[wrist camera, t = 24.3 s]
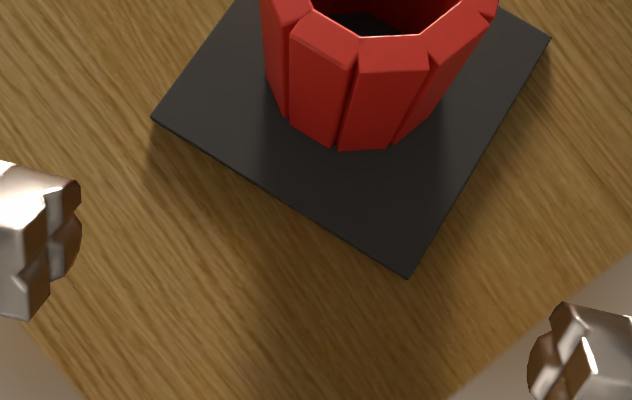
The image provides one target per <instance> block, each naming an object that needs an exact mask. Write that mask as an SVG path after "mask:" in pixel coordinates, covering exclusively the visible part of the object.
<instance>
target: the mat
mask: <svg viewBox="0 0 632 400" xmlns="http://www.w3.org/2000/svg"><path fill="white" fill-rule="evenodd" d="M328 18H330V19H331V20H333V21H335V22H337V23H338V24H340V25H342V26H343V27H345V28H347V29H348V30H350V31H352V32H353V33H355V34H357V35H359V36H360V37H373V36H394V35H402V34H401V32H400V31H399V30H397V29H395V28H394V27H392V26H390V25H389V24H387V23H385V22H383V21H382V20H380V19H378V18H377V17H375V16H373V15H371V14H370V13H352V14H331V15H329V16H328ZM551 38H552V37H551V36H549V35H548V34H546V33H544V32H543V31H541V30H539V29H538V28H536V27H534V26H532V25H531V24H529V23H527V22H526V21H524V20H522V19H520V18H519V17H517V16H515V15H514V14H512V13H510V12H508V11H507V10H505V9H503V8H502V7H500V6H498V8H497V13H496V16H495V18H494V19H493V21H492V22H491V24H490V27H489V28H488V30H487V31H486V33H485V34H484V36H483V37H482V39H481V40H480V42H479V43H478V45H477V46H476V48H475V49H474V50H473V52H472V53H471V55H470V56H469V58H468V59H467V61H466V62H465V64H464V65H463V67H462V68H461V70H460V71H459V73H458V74H457V76H456V77H455V79H454V80H453V81H452V83H451V84H450V86H449V87H448V89H447V90H446V92H445V93H444V95H443V96H442V98H441V99H440V101H439V102H438V104H437V105H436V107H435V108H434V110H433V111H432V113H431V114H430V115H429V117H428V118H427V119H426V120H424V121H423V122H422V123H421V124H419V125H418V126H417V127H416V128H415V129H413V130H412V131H411V132H410V133H409V134H407V135H406V136H405V137H404V138H402V139H401V140H400V141H399V142H398V143H396V144H395V145H394V146H393V145H392V144H391V143H390V142H389V144H388V146H387V148H386V149H374V150H357V151H340V152H338V151H337V142H336V141H335V143H334V145H333V146H332V147H331V148H327V147H325V146H324V145H322V144H320V143H319V142H317V141H315V140H314V139H312V138H311V137H309V136H307V135H306V134H304V133H302V132H301V131H299V130H297V129H296V128H294V127H292V126H291V125H290V124H289V117H286V118H284V117H283V116H282V114H281V111H280V109H279V107H278V104H277V102H276V99H275V97H274V94H273V92H272V90H271V87H270V85H269V82H268V80H267V78H266V67H265V57H264V47H263V36H262V26H261V15H260V5H259V0H235V1H234V2H233V3H232V5H231V6H230V7H229V9H228V10H227V11H226V13H225V14H224V15H223V17H222V18H221V20H220V21H219V22H218V24H217V25H216V26H215V28H214V29H213V30H212V32H211V33H210V35H209V36H208V37H207V39H206V40H205V41H204V43H203V44H202V45H201V47H200V48H199V50H198V51H197V52H196V54H195V55H194V56H193V58H192V59H191V60H190V62H189V63H188V64H187V66H186V67H185V69H184V70H183V71H182V73H181V74H180V75H179V77H178V78H177V79H176V81H175V82H174V84H173V85H172V86H171V88H170V89H169V90H168V92H167V93H166V94H165V96H164V97H163V99H162V100H161V101H160V103H159V104H158V105H157V107H156V108H155V109H154V111H153V112H152V113H151V115H150V118H151V119H152V120H153V121H154V122H156V123H158V124H159V125H161V126H162V127H164V128H166V129H167V130H169V131H170V132H172V133H173V134H175V135H177V136H178V137H180V138H181V139H183V140H185V141H186V142H188V143H189V144H191V145H193V146H194V147H196V148H197V149H199V150H200V151H202V152H204V153H205V154H207V155H208V156H210V157H212V158H213V159H215V160H216V161H218V162H219V163H221V164H223V165H224V166H226V167H227V168H229V169H231V170H232V171H234V172H235V173H237V174H239V175H240V176H242V177H243V178H245V179H246V180H248V181H250V182H251V183H253V184H254V185H256V186H258V187H259V188H261V189H262V190H264V191H266V192H267V193H269V194H270V195H272V196H273V197H275V198H277V199H278V200H280V201H281V202H283V203H285V204H286V205H288V206H289V207H291V208H292V209H294V210H296V211H297V212H299V213H300V214H302V215H304V216H305V217H307V218H308V219H310V220H312V221H313V222H315V223H316V224H318V225H319V226H321V227H323V228H324V229H326V230H327V231H329V232H331V233H332V234H334V235H335V236H337V237H339V238H340V239H342V240H343V241H345V242H346V243H348V244H350V245H351V246H353V247H354V248H356V249H358V250H359V251H361V252H362V253H364V254H366V255H367V256H369V257H370V258H372V259H373V260H375V261H377V262H378V263H380V264H381V265H383V266H385V267H386V268H388V269H389V270H391V271H392V272H394V273H396V274H397V275H399V276H400V277H402V278H404V279H405V280H408V279H409V278H410V277H411V275H412V273H413V271H414V270H415V268H416V266H417V265H418V263H419V261H420V260H421V258H422V256H423V255H424V253H425V251H426V249H427V248H428V246H429V244H430V243H431V241H432V239H433V238H434V236H435V234H436V233H437V231H438V229H439V228H440V226H441V224H442V222H443V221H444V219H445V217H446V216H447V214H448V212H449V211H450V209H451V207H452V206H453V204H454V202H455V201H456V199H457V197H458V195H459V194H460V192H461V190H462V189H463V187H464V185H465V184H466V182H467V180H468V179H469V177H470V175H471V173H472V172H473V170H474V168H475V167H476V165H477V163H478V162H479V160H480V158H481V157H482V155H483V153H484V152H485V150H486V148H487V146H488V145H489V143H490V141H491V140H492V138H493V136H494V135H495V133H496V131H497V130H498V128H499V126H500V125H501V123H502V121H503V119H504V118H505V116H506V114H507V113H508V111H509V109H510V108H511V106H512V104H513V103H514V101H515V99H516V97H517V96H518V94H519V92H520V91H521V89H522V87H523V86H524V84H525V82H526V81H527V79H528V77H529V76H530V74H531V72H532V70H533V69H534V67H535V65H536V64H537V62H538V60H539V59H540V57H541V55H542V54H543V52H544V50H545V49H546V47H547V45H548V43H549V42H550V40H551Z"/></svg>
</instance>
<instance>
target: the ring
mask: <svg viewBox="0 0 632 400" xmlns="http://www.w3.org/2000/svg"><path fill="white" fill-rule="evenodd" d="M498 3H499V0H259V5H260V15H261V26H262V36H263V47H264V57H265V67H266V78H267V80H268V82H269V85H270V87H271V90H272V92H273V94H274V97H275V99H276V102H277V104H278V107H279V109H280V111H281V114H282V116H283V117H284V118H286V117H289V124H290V125H291V126H292V127H294V128H296V129H297V130H299V131H301V132H302V133H304V134H306V135H307V136H309V137H311V138H312V139H314V140H315V141H317V142H319V143H320V144H322V145H324V146H325V147H327V148H331V147H332V146H333V145H334V143H335V141H336V142H337V151H338V152H340V151H357V150H374V149H386V148H387V146H388V144H389V142H390V143H391V144H392V145H393V146H394V145H395V144H396V143H398V142H399V141H400V140H401V139H402V138H404V137H405V136H406V135H407V134H409V133H410V132H411V131H412V130H413V129H415V128H416V127H417V126H418V125H419V124H421V123H422V122H423V121H424V120H426V119H427V118H428V117H429V115H430V114H431V113H432V111H433V110H434V108H435V107H436V105H437V104H438V102H439V101H440V99H441V98H442V96H443V95H444V93H445V92H446V90H447V89H448V87H449V86H450V84H451V83H452V81H453V80H454V79H455V77H456V76H457V74H458V73H459V71H460V70H461V68H462V67H463V65H464V64H465V62H466V61H467V59H468V58H469V56H470V55H471V53H472V52H473V50H474V49H475V48H476V46H477V45H478V43H479V42H480V40H481V39H482V37H483V36H484V34H485V33H486V31H487V30H488V28H489V27H490V24H491V22H492V21H493V19H494V18H495V16H496V13H497V8H498ZM352 13H370V14H371V15H373V16H375V17H377V18H378V19H380V20H382V21H383V22H385V23H387V24H389V25H390V26H392V27H394V28H395V29H397V30H399V31H400V32H401V34H402V35H394V36H373V37H360V36H359V35H357V34H355V33H353V32H352V31H350V30H348V29H347V28H345V27H343V26H342V25H340V24H338V23H337V22H335V21H333V20H331V19H330V18H328V16H329V15H331V14H352Z"/></svg>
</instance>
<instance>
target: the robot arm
mask: <svg viewBox="0 0 632 400" xmlns="http://www.w3.org/2000/svg"><path fill="white" fill-rule="evenodd" d="M80 204H81V186H80V185H79V184H78V182H77V181H76V180H73V179H70V178H66V177H62V176H58V175H55V174H51V173H47V172H44V171H40V170H36V169H33V168H29V167H25V166H22V165H16V164H14V163H10V162H6V161H2V160H0V316H3V317H7V318H12V319H16V320H21V321H25V322H29V321H30V320H31V318H32V317H33V316H34V315H35V313H36V312H37V311H38V310H39V308H40V307H41V306H42V305H43V303H44V302H45V301H46V299H47V298H48V297H49V296H50V282H52V281H55V280H57V279H60V278H62V277H64V276H65V275H66V274H67V272H68V271H69V270H70V268H71V267H72V266H73V264H74V261H75V259H76V257H77V254H78V252H79V249H80V244H81V238H82V224H81V222H80V221H79V219H78V218H77V217H76V215H75V214H74V211H75V209H76V208H77V207H78V206H79V205H80ZM549 321H550V325H551V328H552V331H550V332H548V333H546V334H544V335H542V336H540V337H538V338H537V340H536V342H535V344H534V346H533V348H532V350H531V352H530V356H529V361H528V365H527V383H528V388H529V393H530V394H531V395H532V396H533V397H534V399H535V400H632V317H630V316H626V315H622V316H621V315H617V314H613V313H609V312H605V311H600V310H597V309H592V308H588V307H584V306H579V305H576V304H572V303H567V302H563V301H562V302H561V303H560V304H559V305H558V306H556V307H555V309H554V311H553V312H552V314H551V316H550V317H549Z"/></svg>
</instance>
